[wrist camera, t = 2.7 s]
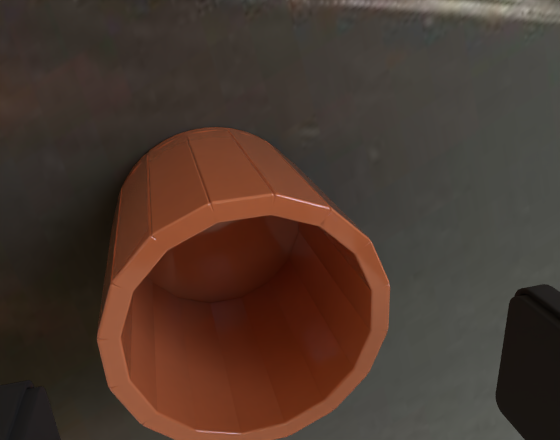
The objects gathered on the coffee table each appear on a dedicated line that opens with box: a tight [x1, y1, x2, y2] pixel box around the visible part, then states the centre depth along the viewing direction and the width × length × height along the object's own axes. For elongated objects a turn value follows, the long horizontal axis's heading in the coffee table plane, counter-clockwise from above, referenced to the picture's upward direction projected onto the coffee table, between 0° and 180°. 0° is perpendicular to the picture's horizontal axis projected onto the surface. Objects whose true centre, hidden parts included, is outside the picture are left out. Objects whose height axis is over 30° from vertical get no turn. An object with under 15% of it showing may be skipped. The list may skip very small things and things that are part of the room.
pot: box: [97, 127, 390, 440], centre depth 15 cm, size 7×7×7 cm
